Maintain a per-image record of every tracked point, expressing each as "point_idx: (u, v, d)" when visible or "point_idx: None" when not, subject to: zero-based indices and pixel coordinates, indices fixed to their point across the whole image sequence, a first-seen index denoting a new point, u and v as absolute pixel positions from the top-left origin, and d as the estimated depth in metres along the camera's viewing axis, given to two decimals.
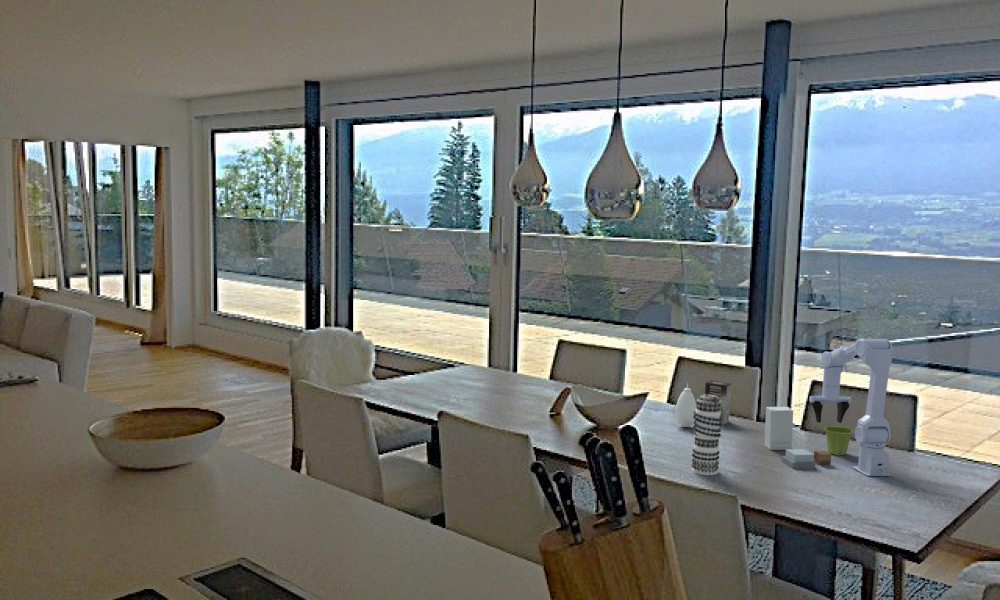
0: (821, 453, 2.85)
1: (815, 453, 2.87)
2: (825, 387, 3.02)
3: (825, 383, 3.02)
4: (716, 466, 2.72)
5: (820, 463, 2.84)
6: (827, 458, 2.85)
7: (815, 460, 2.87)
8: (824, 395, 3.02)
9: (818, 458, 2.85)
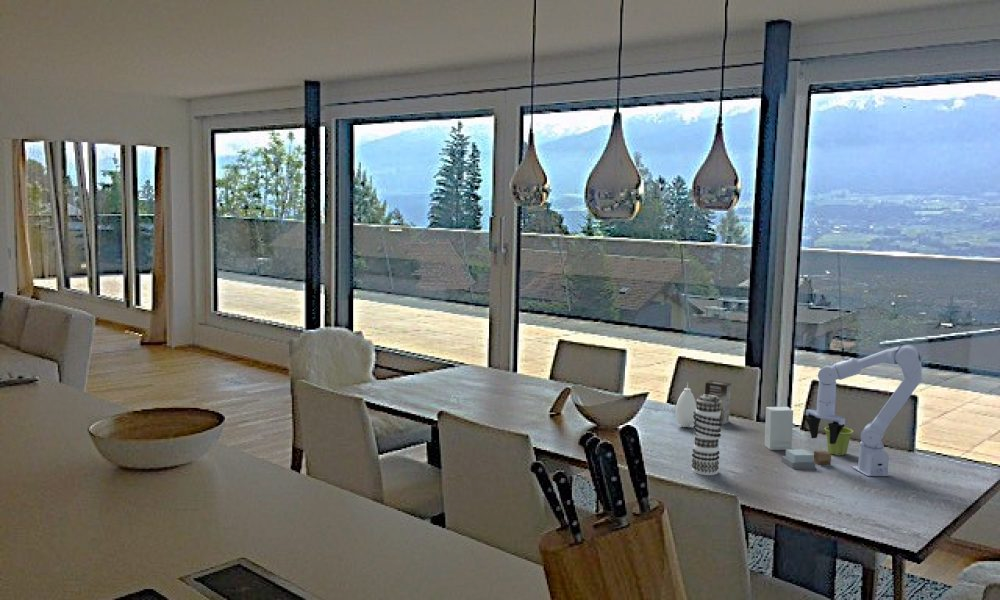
0: (821, 453, 2.85)
1: (815, 453, 2.87)
2: None
3: (827, 401, 2.82)
4: (716, 466, 2.72)
5: (820, 463, 2.84)
6: (827, 458, 2.85)
7: (815, 460, 2.87)
8: None
9: (818, 458, 2.85)
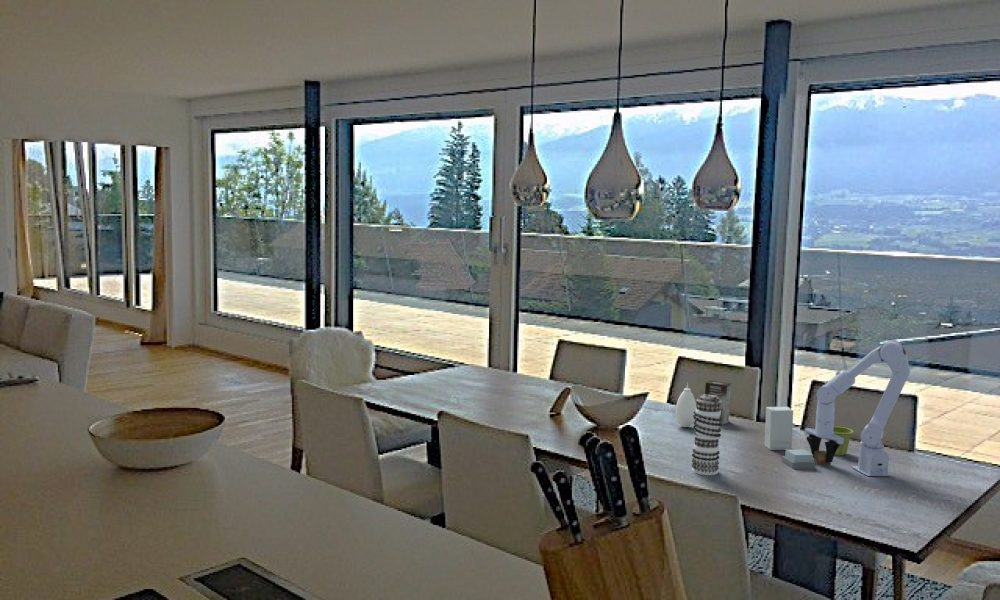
0: (821, 453, 2.85)
1: (815, 453, 2.87)
2: None
3: (825, 420, 2.82)
4: (716, 466, 2.72)
5: (820, 463, 2.84)
6: None
7: (815, 460, 2.87)
8: None
9: (818, 458, 2.85)
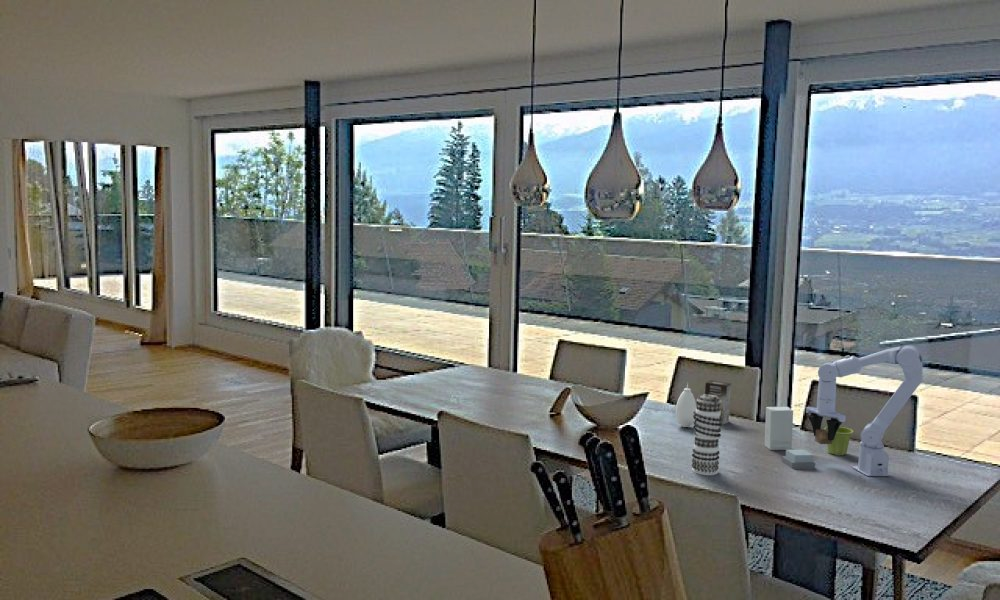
0: (823, 431, 2.84)
1: (817, 431, 2.86)
2: None
3: (827, 398, 2.82)
4: (716, 466, 2.72)
5: (822, 441, 2.84)
6: None
7: (817, 438, 2.86)
8: None
9: (820, 436, 2.84)
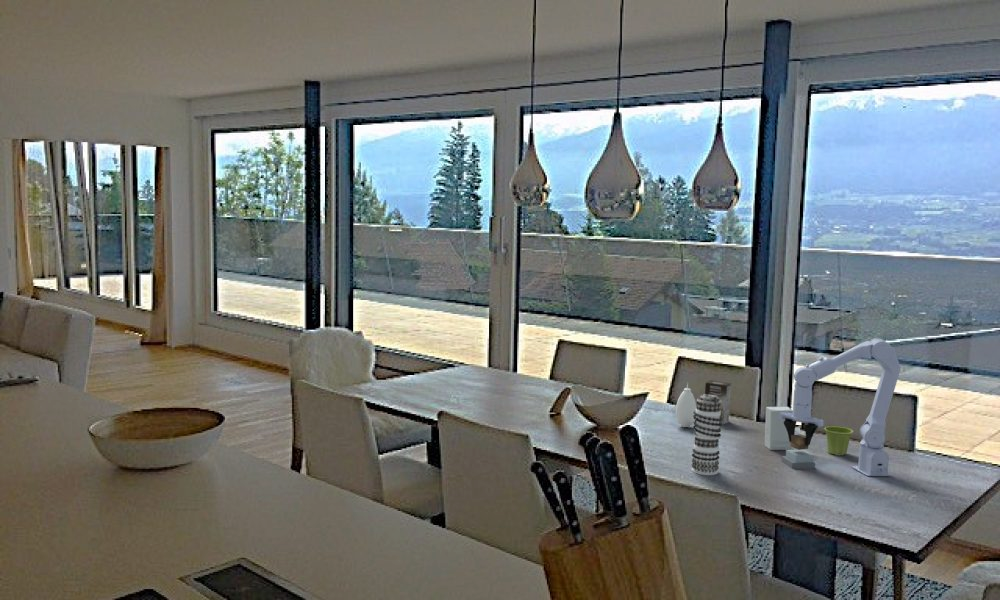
0: (800, 437, 2.82)
1: (793, 437, 2.84)
2: (793, 404, 2.83)
3: (805, 403, 2.80)
4: (716, 466, 2.72)
5: (800, 447, 2.81)
6: None
7: (793, 444, 2.84)
8: None
9: (797, 442, 2.82)
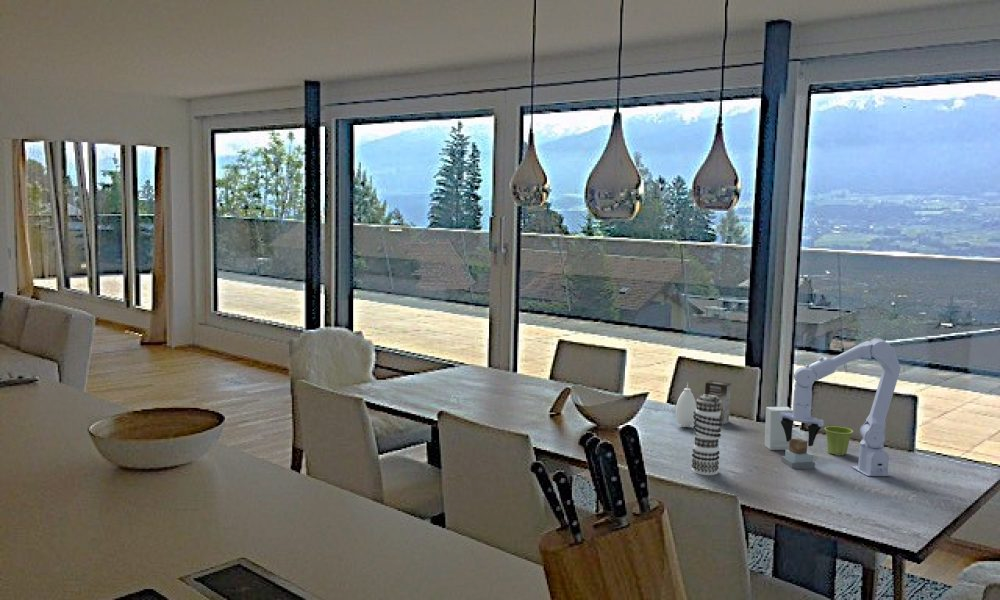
0: (798, 441, 2.83)
1: (791, 442, 2.84)
2: (793, 404, 2.83)
3: (805, 403, 2.80)
4: (716, 466, 2.72)
5: (799, 451, 2.82)
6: (804, 445, 2.83)
7: (792, 449, 2.84)
8: None
9: (796, 446, 2.82)
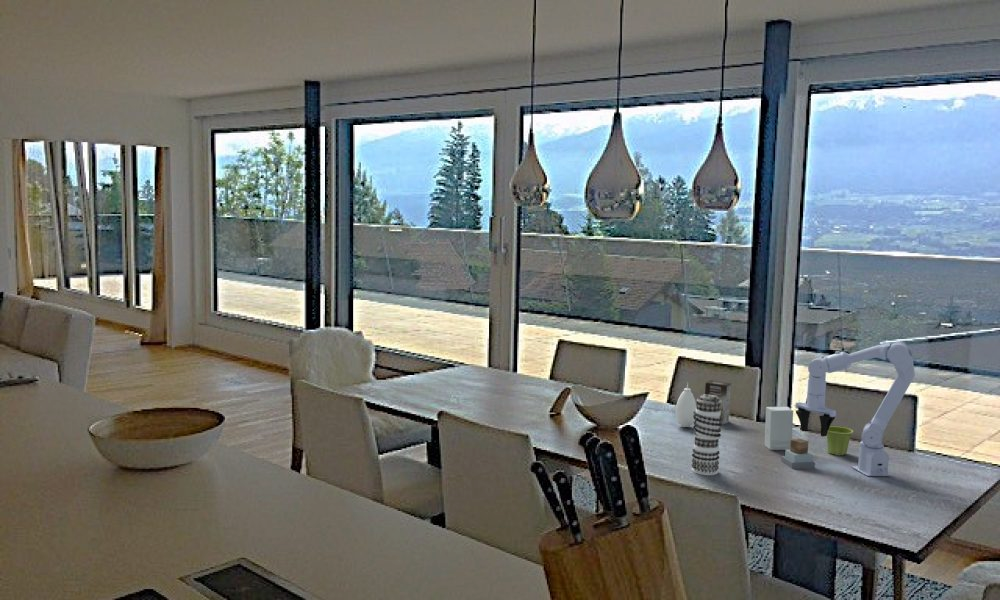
0: (800, 441, 2.82)
1: (792, 442, 2.84)
2: None
3: (817, 393, 2.82)
4: (716, 466, 2.72)
5: (800, 451, 2.82)
6: (805, 445, 2.83)
7: (793, 449, 2.84)
8: None
9: (798, 447, 2.82)
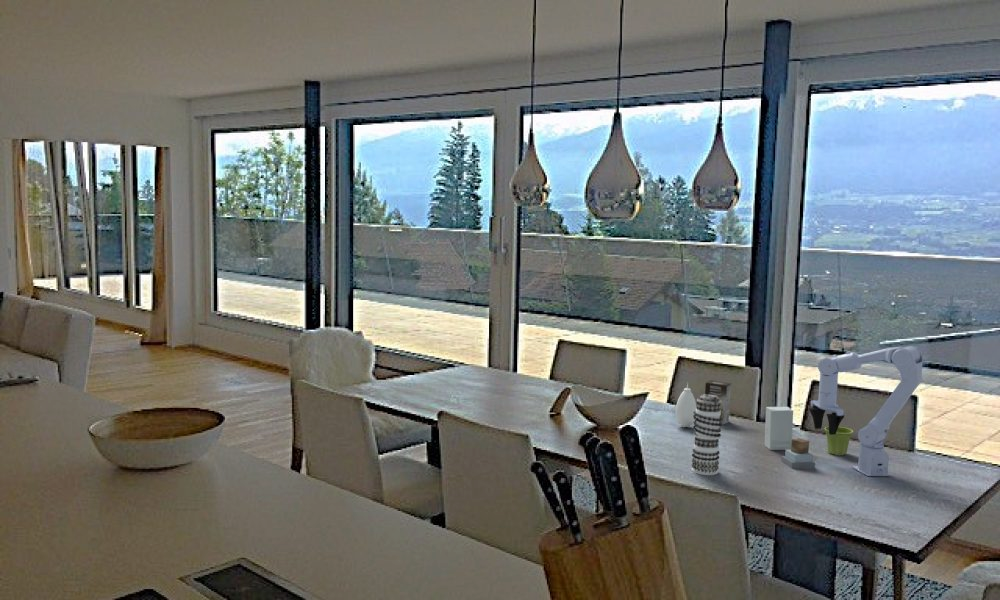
0: (801, 441, 2.83)
1: (794, 441, 2.84)
2: None
3: (826, 391, 2.85)
4: (716, 466, 2.72)
5: (801, 451, 2.82)
6: (806, 445, 2.83)
7: (794, 448, 2.84)
8: None
9: (799, 446, 2.82)
